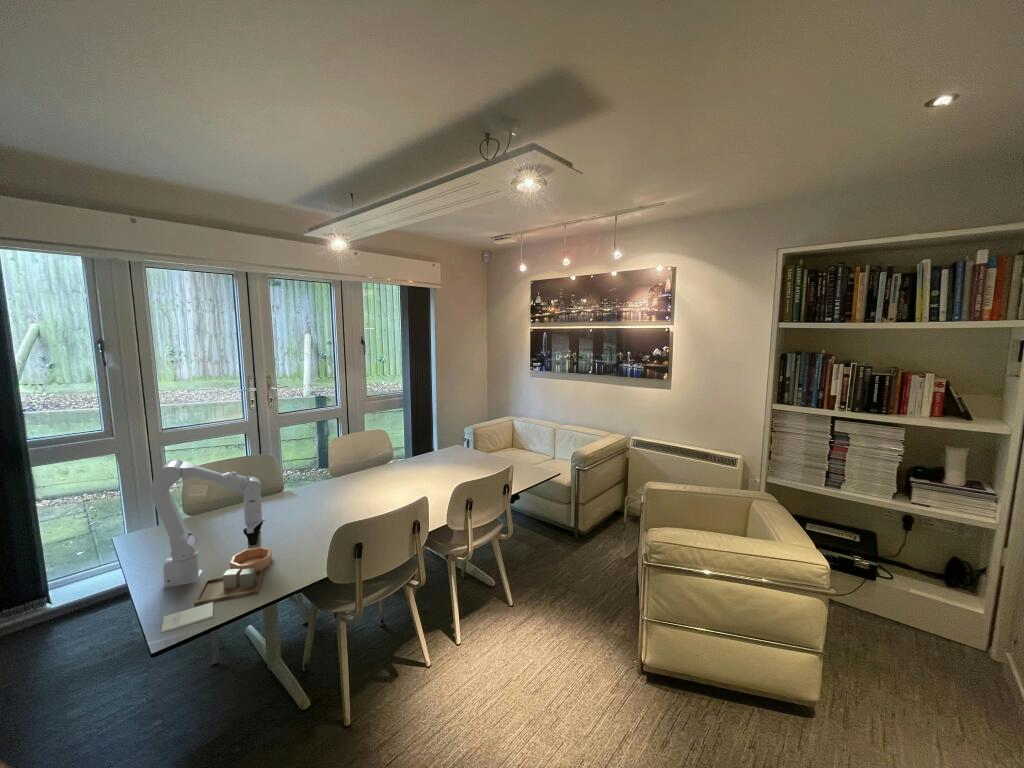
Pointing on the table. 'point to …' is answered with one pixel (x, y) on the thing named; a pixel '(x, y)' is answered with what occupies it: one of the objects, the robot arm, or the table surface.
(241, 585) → the stone
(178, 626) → the external hard drive
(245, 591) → the tray
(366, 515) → the table surface
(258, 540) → the stone
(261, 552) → the bowl
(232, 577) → the stone
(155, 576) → the table surface
